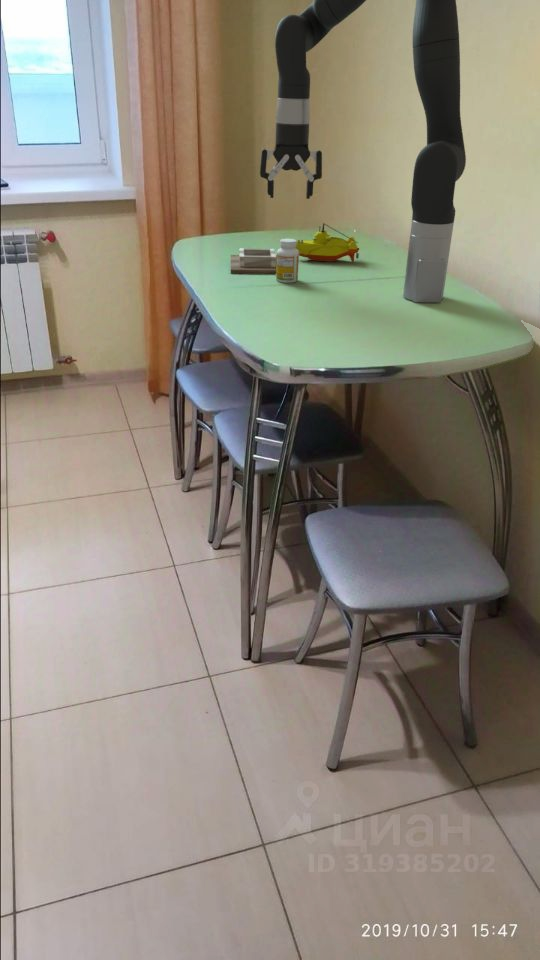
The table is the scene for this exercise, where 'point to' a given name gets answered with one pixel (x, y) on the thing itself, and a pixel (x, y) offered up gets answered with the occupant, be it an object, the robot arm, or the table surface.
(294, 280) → the supplement bottle
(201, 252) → the table surface
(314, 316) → the table surface
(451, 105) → the robot arm
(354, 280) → the table surface
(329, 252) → the toy boat
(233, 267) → the jig board
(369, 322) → the table surface
